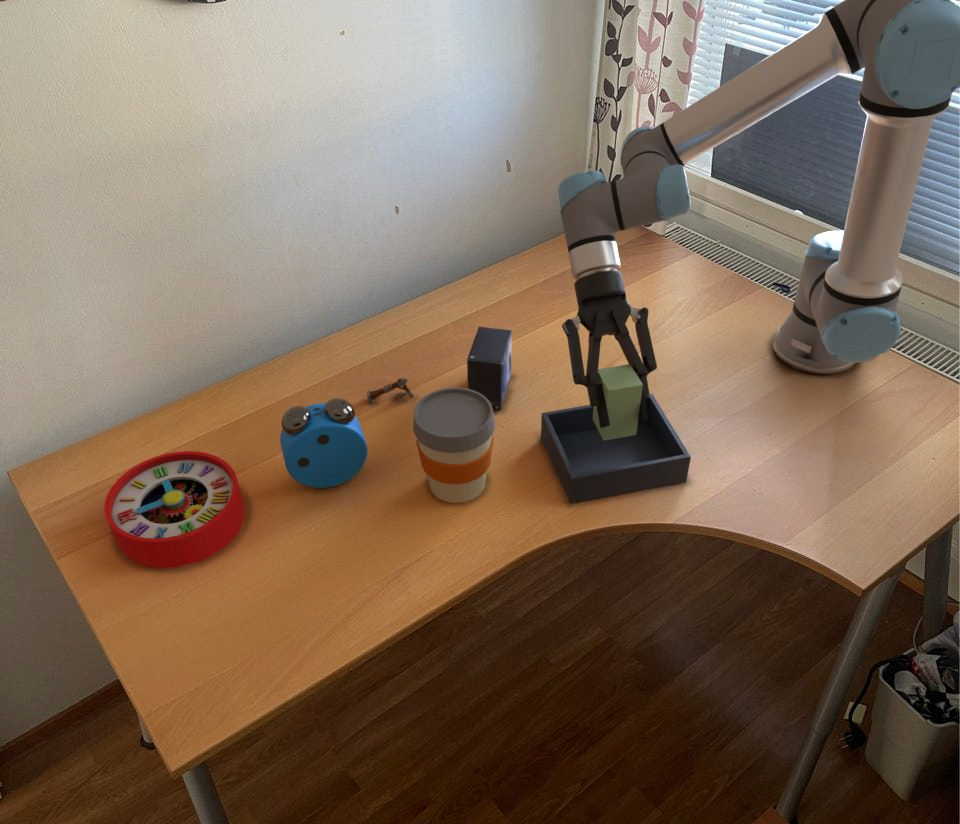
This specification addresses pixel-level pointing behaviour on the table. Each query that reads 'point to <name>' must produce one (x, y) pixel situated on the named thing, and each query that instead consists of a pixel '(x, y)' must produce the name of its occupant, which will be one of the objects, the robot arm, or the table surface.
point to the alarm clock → (323, 443)
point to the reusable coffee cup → (455, 441)
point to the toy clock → (175, 509)
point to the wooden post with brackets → (388, 388)
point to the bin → (612, 454)
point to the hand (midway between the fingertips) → (624, 422)
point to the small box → (490, 364)
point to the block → (619, 401)
